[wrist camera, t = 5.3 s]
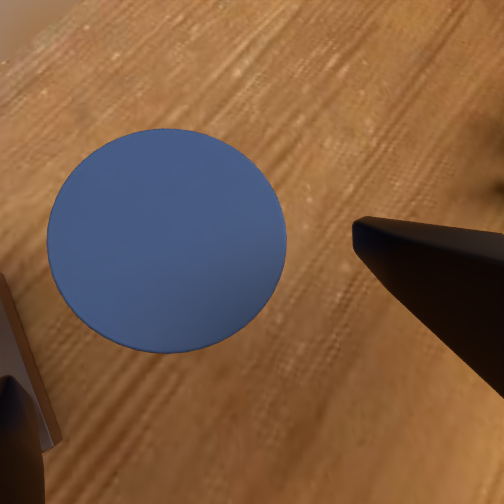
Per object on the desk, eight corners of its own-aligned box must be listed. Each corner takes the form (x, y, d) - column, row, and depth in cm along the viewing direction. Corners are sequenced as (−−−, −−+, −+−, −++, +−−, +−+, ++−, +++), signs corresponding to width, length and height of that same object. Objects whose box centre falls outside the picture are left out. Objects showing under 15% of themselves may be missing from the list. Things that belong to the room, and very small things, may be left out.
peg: (251, 250, 20) (307, 166, 11) (221, 365, 18) (257, 381, 9) (139, 217, 19) (98, 99, 10) (96, 334, 17) (2, 316, 8)
